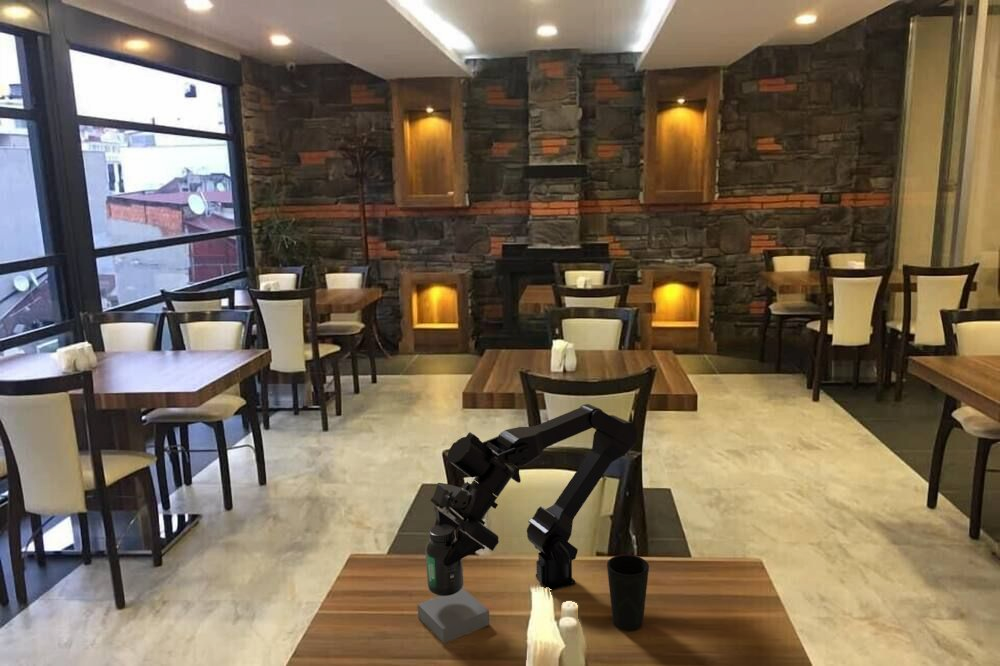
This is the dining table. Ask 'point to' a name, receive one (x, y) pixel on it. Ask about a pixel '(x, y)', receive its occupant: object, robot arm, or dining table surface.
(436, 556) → the supplement bottle
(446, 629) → the plinth
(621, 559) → the cup
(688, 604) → the dining table surface
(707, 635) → the dining table surface
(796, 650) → the dining table surface
